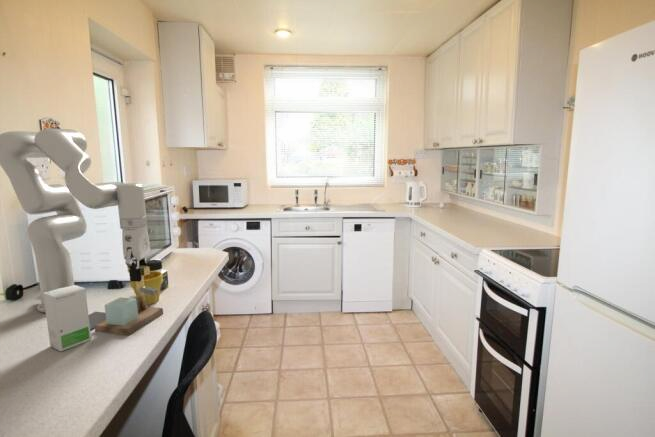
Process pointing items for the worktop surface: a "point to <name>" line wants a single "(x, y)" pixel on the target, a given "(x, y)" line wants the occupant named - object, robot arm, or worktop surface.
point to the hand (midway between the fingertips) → (139, 277)
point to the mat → (96, 318)
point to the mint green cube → (121, 311)
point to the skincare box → (67, 317)
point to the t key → (143, 288)
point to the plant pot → (151, 285)
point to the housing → (143, 319)
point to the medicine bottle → (157, 266)
